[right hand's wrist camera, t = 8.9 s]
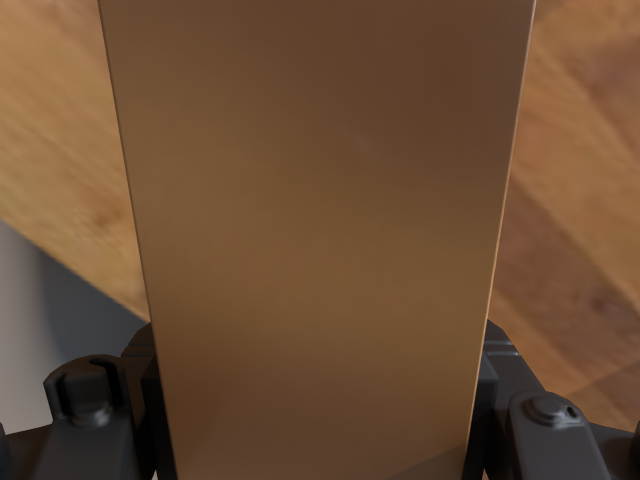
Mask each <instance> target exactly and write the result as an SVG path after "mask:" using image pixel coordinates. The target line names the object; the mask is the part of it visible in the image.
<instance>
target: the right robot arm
mask: <svg viewBox="0 0 640 480" xmlns="http://www.w3.org/2000/svg"><path fill="white" fill-rule="evenodd" d="M43 385H44V388H45V392H46V396H47V399H48V403H49V407H50V410H51V414H52V417H53V422H52V424H49V425H46V426H42V427H39V428H34V429H30V430H25V431H21V432H17V433H12V434H8V435H5V432H4V429H3V426H2V424H1V423H0V480H152V478H153V475H154V473H155V470H156V472H157V478H158V480H177V476H176V470H175V464H174V458H173V452H172V446H171V440H170V434H169V428H168V422H167V416H166V410H165V404H164V398H163V392H162V386H161V380H160V374H159V368H158V362H157V356H156V350H155V344H154V338H153V332H152V326H151V322H150V323H148V324H147V325H145V326H144V327H142V328H141V329H140V330H138V331H137V332H136V334H135V335H134V337H133V338H132V340H131V341H130V342H129V345H128V346H127V347H126V348H125V350H124V351H123V352H122V354H121V357H119V358H118V357H115V356H111V355H107V354H101V355H89V356H85V357H81V358H77V359H75V360H72V361H70V362H68V363H66V364H63V365H62V366H60V367H59V368H57V369H56V370H54V371H53V372H51V373H50V374H49V376H48V377H47V378H46V379H45V381H44V382H43ZM484 469H485V471H486V474H487V476H488V478H489V480H640V421H639V422H638V424H637V427H636V430H635V433H632V432H627V431H623V430H619V429H614V428H610V427H605V426H601V425H597V424H594V423H590V422H588V421H587V419H586V417H585V416H584V415H583V413H582V412H581V410H580V409H579V408H578V407H576V406H575V405H574V404H573V403H571V402H570V401H569V400H567V399H565V398H563V397H561V396H559V395H557V394H555V393H552V392H548V391H545V389H544V388H543V386H542V385H541V384H540V382H539V381H538V379H537V378H536V376H535V375H534V374H533V372H532V371H531V369H530V368H529V366H528V365H527V364H526V362H525V361H524V359H523V358H522V357H521V356H519V352H518V351H517V349H516V348H515V347H514V345H512V344H511V341H510V339H509V338H508V337H507V335H506V334H505V332H504V331H503V330H502V329H501V328H500V327H498V326H497V325H495V324H494V323H492V322H491V321H490V320H488V319H487V323H486V329H485V336H484V342H483V349H482V355H481V361H480V368H479V374H478V381H477V387H476V394H475V400H474V407H473V413H472V420H471V426H470V432H469V439H468V445H467V452H466V458H465V465H464V471H463V478H462V480H482V476H483V470H484Z"/></svg>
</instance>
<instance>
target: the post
mask: <svg viewBox="0 0 640 480" xmlns="http://www.w3.org/2000/svg"><path fill="white" fill-rule="evenodd" d="M98 6H99V12H100V18H101V24H102V30H103V36H104V42H105V48H106V54H107V60H108V66H109V72H110V78H111V84H112V90H113V97H114V103H115V109H116V115H117V121H118V127H119V133H120V139H121V145H122V151H123V157H124V163H125V169H126V175H127V181H128V187H129V193H130V199H131V205H132V211H133V217H134V223H135V229H136V235H137V241H138V247H139V253H140V259H141V265H142V271H143V277H144V283H145V289H146V295H147V302H148V308H149V314H150V320H151V326H152V332H153V338H154V344H155V350H156V356H157V362H158V368H159V374H160V380H161V386H162V392H163V398H164V404H165V410H166V416H167V422H168V428H169V434H170V440H171V446H172V452H173V458H174V464H175V470H176V476H177V480H462V478H463V471H464V465H465V458H466V452H467V445H468V439H469V432H470V426H471V420H472V413H473V407H474V400H475V394H476V387H477V381H478V374H479V368H480V361H481V355H482V349H483V342H484V336H485V329H486V323H487V316H488V310H489V303H490V297H491V291H492V284H493V278H494V271H495V265H496V258H497V252H498V245H499V239H500V232H501V226H502V220H503V213H504V207H505V200H506V194H507V187H508V181H509V174H510V168H511V162H512V155H513V149H514V142H515V136H516V129H517V123H518V116H519V110H520V103H521V97H522V91H523V84H524V78H525V71H526V65H527V58H528V52H529V45H530V39H531V32H532V26H533V20H534V13H535V7H536V0H98Z"/></svg>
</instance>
